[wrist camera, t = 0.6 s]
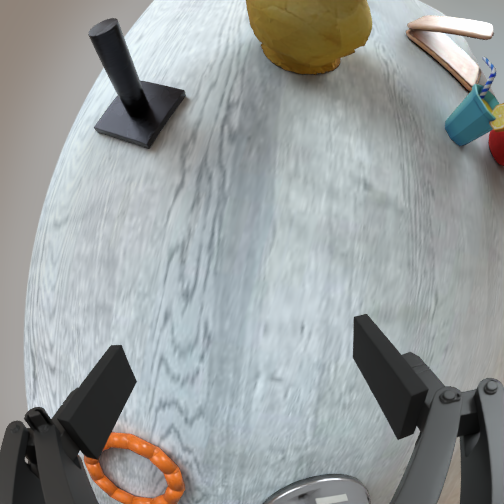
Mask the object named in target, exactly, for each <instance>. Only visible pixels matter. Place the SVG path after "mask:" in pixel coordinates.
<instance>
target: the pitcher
mask: <svg viewBox="0 0 504 504" xmlns="http://www.w3.org/2000/svg"><path fill="white" fill-rule="evenodd" d="M246 4H247V11H248V15H249V20H250V25H251V28H252V29H253V32H254V34H255V36H256V37H257V39H258V40H259V41H260V42H262V44H261V46H262V49H263V52H264V54H265V55H266V57H267V58H268V59H270V61H272V63H275V65H277V66H281V67H282V69H284V70H287V71H292V72H295V73H298V74H314V75H315V74H317V73H324V72H326V71H328V72H329V71H333V70H334V69H336V68H337V67H338V66H339V64H340V60H341V57H344V56H347V55H350V54H352V53H354V52H355V51H354V49H356V48H358V47H360V46H364V45H365V44H366V41H367V40H368V37H369V35H370V33H371V30H372V18H371V13H370V8H369V6H368V3H367V0H246Z"/></svg>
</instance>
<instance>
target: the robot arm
mask: <svg viewBox="0 0 504 504" xmlns="http://www.w3.org/2000/svg"><path fill="white" fill-rule="evenodd" d="M353 359H354V360H355V362H356V364H357V366H358V368H359V369H360V371H361V373H362V375H363V376H364V378H365V380H366V382H367V384H368V385H369V387H370V389H371V391H372V393H373V394H374V396H375V398H376V400H377V402H378V404H379V405H380V407H381V409H382V411H383V413H384V415H385V417H386V418H387V420H388V422H389V424H390V426H391V428H392V430H393V432H394V434H395V435H396V437H397V439H398V440H399V439H402V438H404V437H407V436H409V435H412V434H414V431H415V428H416V426H417V427H418V428H419V430H420V431H421V432H420V434H419V436H418V439H417V441H416V443H415V448H414V450H413V453H412V456H411V458H410V461H409V463H408V466H407V468H406V470H405V473H404V475H403V477H402V479H401V481H400V484H399V486H398V488H397V490H396V492H395V494H394V496H393V498H392V500H391V502H390V504H437V502H438V499H439V497H440V494H441V491H442V488H443V485H444V482H445V479H446V476H447V473H448V469H449V466H450V462H451V459H452V455H453V451H454V446H455V442H456V437H459V436H460V450H461V494H460V504H504V387H503V385H502V383H501V382H500V381H498V380H497V379H494V378H487V379H483V380H482V381H481V382H480V383H479V385H478V387H477V389H476V390H471V391H466V392H461V391H460V390H458V389H457V388H455V387H451V386H448V387H445V386H444V384H443V383H442V382H441V381H440V380H439V379H438V378H437V376H436V375H435V374H434V373H433V372H432V371H431V369H429V367H428V366H427V365H426V364H425V363H424V362H423V360H422V359H421V358H420V357H419V356H417V355H415V354H413V353H411V352H409V353H406V354H403V355H401V354H400V353H399V352H398V350H397V349H396V348H395V347H394V346H393V344H392V343H391V342H390V341H389V340H388V338H387V337H386V336H385V335H384V334H383V332H382V331H381V330H380V329H379V328H378V327H377V325H376V324H375V323H374V322H373V321H372V320H371V318H370V317H369V316H368V315H367V314H364V315H360V316H355V317H354V339H353ZM136 382H137V381H136V379H135V376H134V374H133V372H132V370H131V367H130V365H129V363H128V360H127V358H126V355H125V353H124V350H123V348H122V345H111V346H110V347H109V349H108V350H107V351H106V352H105V354H104V355H103V356H102V358H101V359H100V360H99V361H98V363H97V364H96V365H95V367H94V368H93V369H92V371H91V372H90V373H89V375H88V376H87V377H86V379H85V380H84V381H83V383H82V384H81V385H80V387H79V388H76V389H75V390H74V391H72V392H71V393H70V394H69V396H68V397H67V398H66V400H65V401H64V402H63V405H61V407H60V408H59V409H58V411H57V412H56V414H55V415H54V416H53V418H52V419H50V417H49V416H48V414H47V413H46V411H45V410H44V409H43V408H42V407H35V408H33V409H30V410H29V411H28V412H27V413H26V415H25V418H24V419H25V421H26V422H27V423H28V425H29V426H30V428H26V427H25V425H24V424H23V423H22V422H21V421H14V422H11V423H10V424H9V425H8V426H7V428H6V431H5V435H4V439H3V442H2V446H1V450H0V504H99V503H98V501H97V499H96V497H95V494H94V492H93V489H92V487H91V485H90V482H89V479H88V477H87V474H86V472H85V469H84V466H83V463H82V460H81V458H80V456H79V455H78V453H79V451H80V450H81V452H82V453H83V454H84V455H85V456H86V457H88V458H92V459H96V460H99V457H100V455H101V453H102V451H103V449H104V447H105V445H106V443H107V440H108V438H109V436H110V434H111V432H112V430H113V428H114V426H115V424H116V422H117V420H118V418H119V416H120V414H121V412H122V410H123V408H124V406H125V404H126V402H127V400H128V398H129V396H130V394H131V392H132V390H133V388H134V386H135V384H136ZM25 457H26V458H27V459H28V464H27V463H26V462H25ZM263 504H370V496H369V493H368V491H367V489H366V488H365V487H364V485H363V484H362V483H361V482H360V481H359V480H358V479H356V478H354V477H351V476H348V475H342V474H327V475H319V476H314V477H310V478H306V479H303V480H300V481H297V482H295V483H292V484H290V485H288V486H286V487H284V488H282V489H280V490H279V491H277V492H275V493H274V494H273V495H271V496H270V497H269V498H268V499H267V500H266V501H265V502H264V503H263Z"/></svg>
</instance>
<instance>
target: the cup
mask: <svg viewBox="0 0 504 504" xmlns="http://www.w3.org/2000/svg"><path fill="white" fill-rule="evenodd" d="M483 60H484V61H485V62H486V63H487V65H488V66H489V67H490V68H491V70H492V73H491V75H490V77H489V78H488V80H487V82H486V84H485V86H482V85H478V84H474V85H473V87H472V91H471V92H470V93H469V94H468V95H467V97H466V98H465V99H464V100H463V101H462V103H461V104H460V105H459V106H458V107H457V108H456V110H455V111H454V112H453V113H452V114H451V115H450V117H449V118H448V119H447V120H446V121H445V129H446V131H447V133H448V135H449V136H450V138H451V139H452V140H453V141H454V142H455V143H456V144H457V145H459V146H462V145H466V144H468V143H470V142H471V141H473V140H475V139H477V138H479V137H480V136H482V135H484V134H486V133H488V132H489V131H491V130H493V129H494V131H495V132H502V131H504V103H503V104H499V102H498V101H497V99H496V98H495V96H494V95H493V94H492V93H491V92H489V91H488V90H489V88H490V86H491V84H492V82H493V80H494V78H495V76H496V68H495V67H494V66H493V65H492V63H491V62H490V61H489V60H488V59H487V58H486V57H485V56H484V57H483Z"/></svg>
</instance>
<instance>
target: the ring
mask: <svg viewBox="0 0 504 504" xmlns="http://www.w3.org/2000/svg"><path fill="white" fill-rule="evenodd" d="M111 447H113V448H121V449H129V450H131V451H133V452H135V453H137V454H139V455H141V456H143V457H145V458H147V459H149V460H150V461H151V462H152V463H153V464H154V465H155V466H156V467H158V468H159V469H160V470H161V471H162V472H163V473H164V476H165V478H166V481H167V484H168V487H167V489H166V491H165V493H164V494H163V495H160V496H158V497H155V498H145V497H137V496H134V495H132V494H129V493H127V492H125V491H123V490H121V489H119V488H117V487H116V486H115V485H114V484H113V483H112V482H111V481H110V480H109V479H108V478H107V477H106V476H105V475H104V473H103V471H102V468H101V466H100V463H99V460H96V459H92V458H88V457H86V456H85V455H84V462H85V464H86V467H87V469H88V471H89V474H90V476H91V478H92V480H93V481H94V482H95V483H96V484H97V485H98V486H99V487H100V488H101V489H102V490H103V491H104V492H106V493H107V494H108V495H109V496H110V497H112V498H113V499H115V500H117V501H119V502H121V503H123V504H177V503H178V502H179V500H180V498H181V496H182V494H183V492H184V491H185V484H184V481H183V478H182V475H181V472H180V469H179V467H178V466H177V465H176V464H175V463H174V462H173V461H172V460H171V459H170V458H169V457H168V456H167V455H166V454H165V453H164V452H163V451H162V450H161V449H160V448H159V447H157V446H155V445H153V444H151V443H149V442H147V441H144V440H142V439H140V438H138V437H136V436H135V435H132V434H125V433H115V432H111V434H110V436H109V438H108V440H107V443H106V445H105V447H104V449H103V451H105V450H107V449H109V448H111ZM103 451H102V452H103ZM99 459H100V457H99Z"/></svg>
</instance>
